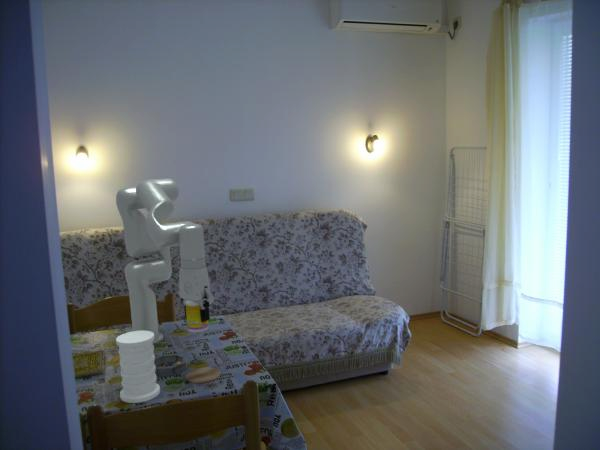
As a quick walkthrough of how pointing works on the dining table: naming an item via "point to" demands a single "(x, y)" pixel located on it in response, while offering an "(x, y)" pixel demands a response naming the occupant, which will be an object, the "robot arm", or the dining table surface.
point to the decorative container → (137, 366)
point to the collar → (172, 370)
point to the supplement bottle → (195, 317)
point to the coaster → (203, 375)
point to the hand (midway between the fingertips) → (197, 318)
